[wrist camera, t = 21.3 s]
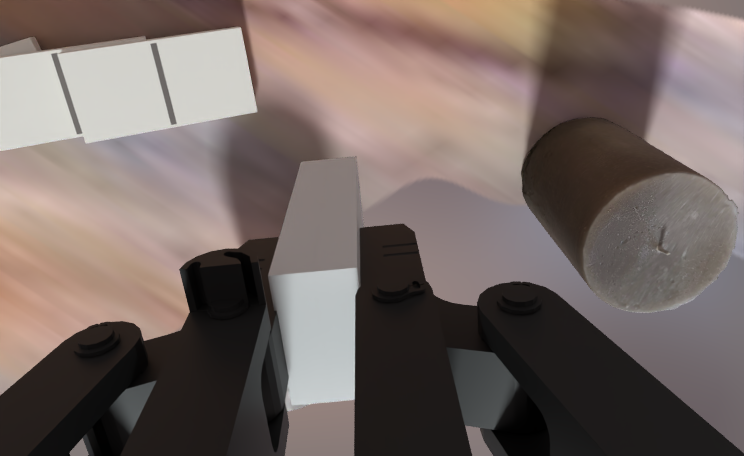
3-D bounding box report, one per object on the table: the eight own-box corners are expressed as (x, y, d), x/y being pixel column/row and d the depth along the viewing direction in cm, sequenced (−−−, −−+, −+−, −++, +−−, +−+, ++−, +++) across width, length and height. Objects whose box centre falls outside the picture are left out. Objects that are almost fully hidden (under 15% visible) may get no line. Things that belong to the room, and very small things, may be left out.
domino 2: (253, 107, 45) (88, 137, 42) (237, 26, 43) (61, 51, 40) (257, 112, 44) (85, 143, 41) (240, 27, 41) (57, 54, 38)
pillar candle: (498, 167, 48) (556, 248, 34) (602, 90, 45) (710, 144, 32) (560, 249, 51) (637, 353, 37) (660, 182, 49) (781, 266, 35)
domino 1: (166, 116, 45) (-5, 147, 42) (145, 35, 43) (-38, 61, 40) (166, 121, 44) (-12, 153, 41) (145, 37, 41) (-47, 64, 38)
